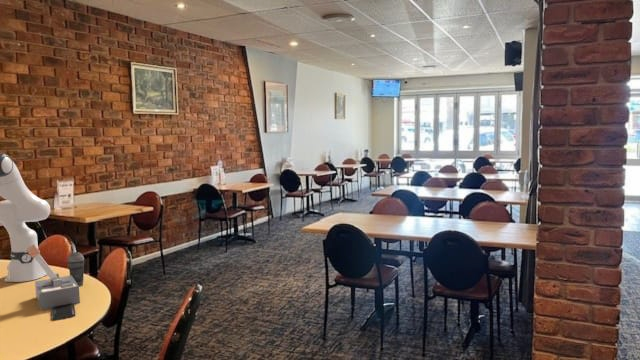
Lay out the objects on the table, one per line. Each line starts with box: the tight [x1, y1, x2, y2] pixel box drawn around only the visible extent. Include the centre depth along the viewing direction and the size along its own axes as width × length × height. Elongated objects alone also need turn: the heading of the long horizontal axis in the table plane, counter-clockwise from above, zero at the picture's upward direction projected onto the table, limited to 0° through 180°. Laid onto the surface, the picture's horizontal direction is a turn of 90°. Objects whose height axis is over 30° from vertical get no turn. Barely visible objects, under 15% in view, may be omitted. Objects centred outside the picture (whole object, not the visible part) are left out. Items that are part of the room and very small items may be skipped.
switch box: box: [34, 272, 81, 311], centre depth 198 cm, size 20×14×10 cm
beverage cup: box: [66, 242, 85, 287], centre depth 217 cm, size 7×7×20 cm
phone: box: [51, 303, 76, 321], centre depth 183 cm, size 8×1×15 cm
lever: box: [27, 245, 58, 281], centre depth 195 cm, size 8×3×18 cm, turn 35°
